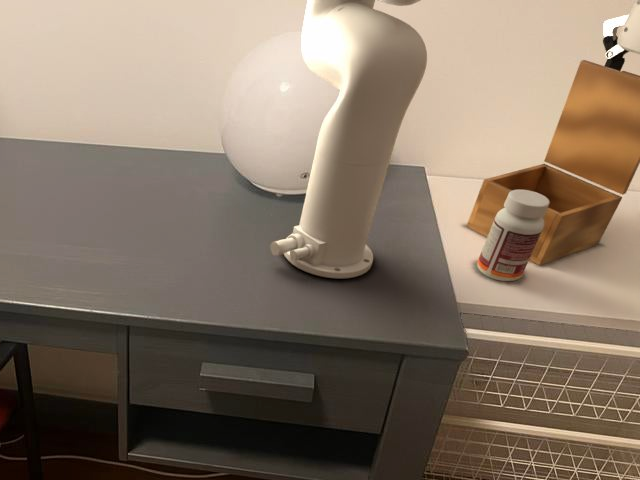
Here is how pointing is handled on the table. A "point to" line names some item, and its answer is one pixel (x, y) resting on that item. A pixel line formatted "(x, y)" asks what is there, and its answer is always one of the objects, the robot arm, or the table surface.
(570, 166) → the lid
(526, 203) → the pill bottle
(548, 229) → the chest
